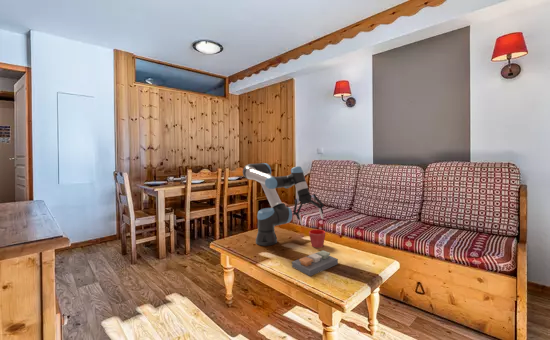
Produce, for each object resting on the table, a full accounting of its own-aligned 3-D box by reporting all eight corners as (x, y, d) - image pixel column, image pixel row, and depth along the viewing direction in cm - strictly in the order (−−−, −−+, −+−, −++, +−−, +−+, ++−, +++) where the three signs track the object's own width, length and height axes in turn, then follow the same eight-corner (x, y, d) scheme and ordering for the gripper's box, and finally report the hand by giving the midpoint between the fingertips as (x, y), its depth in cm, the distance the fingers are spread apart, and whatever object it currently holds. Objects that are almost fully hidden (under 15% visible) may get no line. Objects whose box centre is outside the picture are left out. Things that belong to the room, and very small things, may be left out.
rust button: (299, 264, 143) (299, 259, 143) (306, 261, 146) (306, 256, 146) (306, 267, 139) (305, 262, 139) (312, 264, 142) (312, 259, 142)
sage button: (317, 257, 151) (317, 252, 151) (323, 255, 155) (323, 250, 154) (323, 260, 147) (323, 255, 147) (330, 257, 150) (330, 252, 150)
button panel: (292, 266, 146) (292, 261, 146) (319, 256, 159) (319, 251, 159) (310, 276, 135) (310, 270, 134) (337, 264, 148) (337, 258, 148)
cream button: (308, 260, 147) (308, 255, 147) (314, 258, 150) (314, 253, 150) (315, 263, 143) (315, 258, 143) (321, 261, 146) (321, 256, 146)
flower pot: (307, 243, 181) (307, 229, 181) (323, 242, 182) (323, 228, 182) (311, 249, 171) (310, 234, 170) (327, 248, 172) (327, 233, 171)
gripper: (284, 193, 165) (293, 226, 160) (321, 183, 168) (332, 215, 162) (283, 195, 173) (292, 227, 167) (319, 186, 175) (329, 217, 169)
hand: (312, 221), depth 164 cm, fingers open, 13 cm apart
